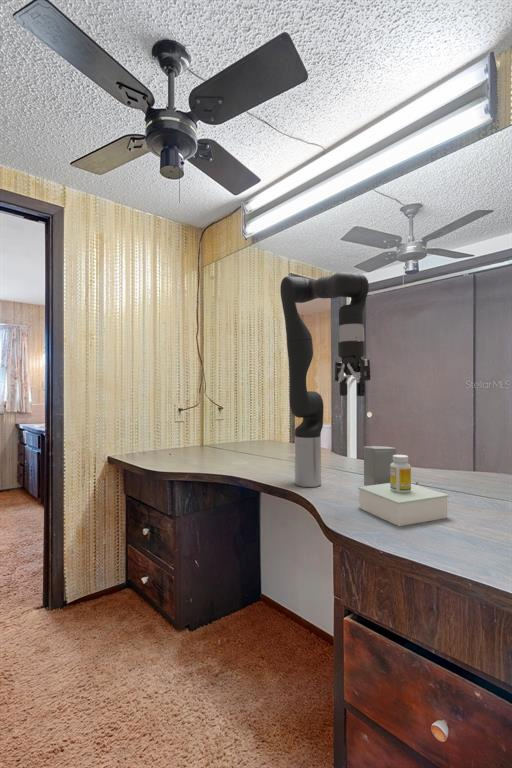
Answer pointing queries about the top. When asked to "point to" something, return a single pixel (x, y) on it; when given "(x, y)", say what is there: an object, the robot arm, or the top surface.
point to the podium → (403, 504)
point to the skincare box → (377, 464)
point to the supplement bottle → (400, 474)
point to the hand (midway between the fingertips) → (351, 395)
